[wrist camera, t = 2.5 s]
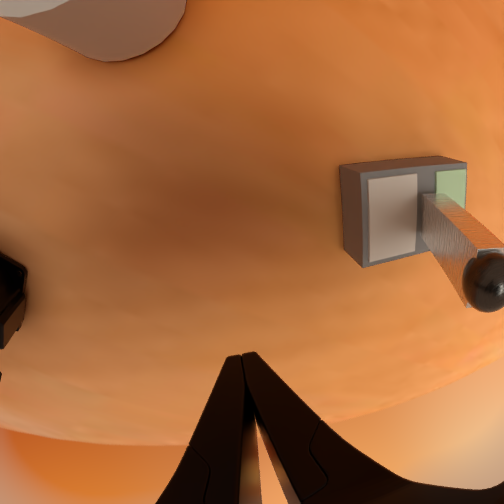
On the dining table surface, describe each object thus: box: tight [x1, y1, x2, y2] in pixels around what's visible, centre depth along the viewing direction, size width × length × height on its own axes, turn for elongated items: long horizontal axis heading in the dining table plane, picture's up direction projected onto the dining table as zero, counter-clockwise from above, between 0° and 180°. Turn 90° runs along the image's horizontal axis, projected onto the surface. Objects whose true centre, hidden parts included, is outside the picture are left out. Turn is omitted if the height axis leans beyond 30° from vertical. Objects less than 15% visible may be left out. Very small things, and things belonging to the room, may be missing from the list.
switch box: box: [339, 156, 467, 268], centre depth 19 cm, size 9×6×3 cm, turn 99°
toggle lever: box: [420, 193, 504, 313], centre depth 13 cm, size 3×3×10 cm
